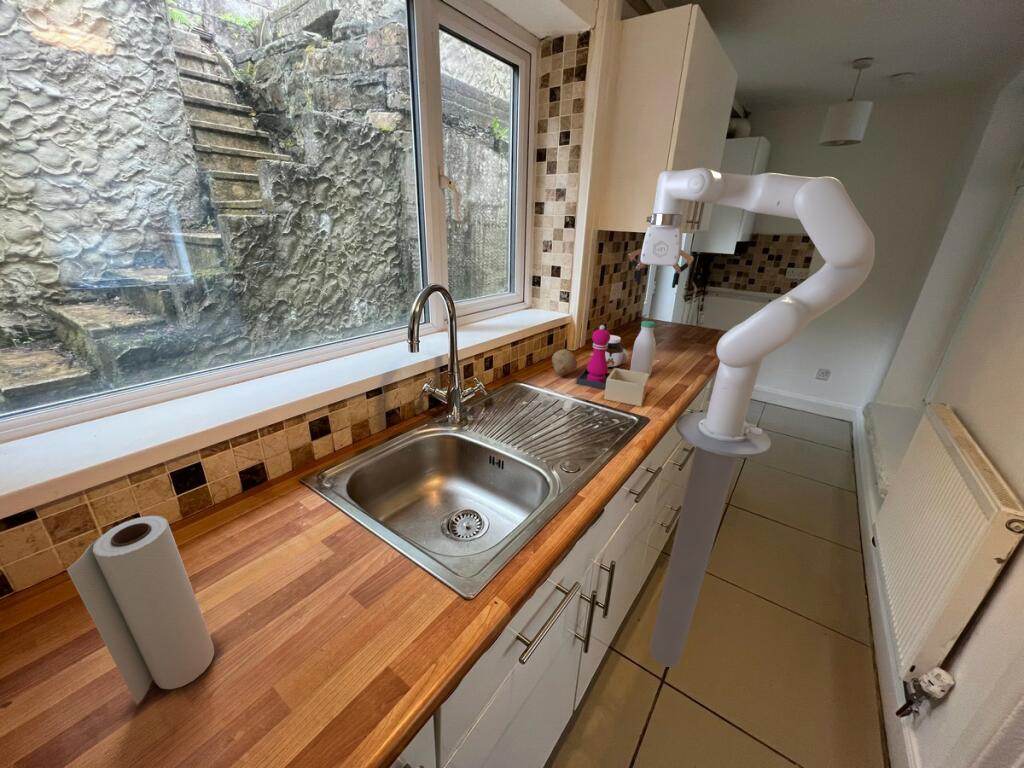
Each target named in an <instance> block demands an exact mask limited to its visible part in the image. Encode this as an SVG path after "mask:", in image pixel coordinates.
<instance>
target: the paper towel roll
mask: <svg viewBox="0 0 1024 768" xmlns="http://www.w3.org/2000/svg"><path fill="white" fill-rule="evenodd" d="M66 571H67V574H68V576H69V577H70V579H71V581H72V583H73V585H74V587H75V589H76V591H77V594H78V595H79V596H80V598H81V601H82V603H83V605H84V606H85V608H86V611H87V612H88V614H89V616H90V618H91V620H92V622H93V623H94V625H95V627H96V629H97V631H98V633H99V635H100V637H101V639H102V641H103V642H104V645H105V647H106V648H107V651H108V653H109V655H110V656H111V658H112V660H113V662H114V664H115V666H116V668H117V669H118V671H119V674H120V676H121V677H122V679H123V681H124V683H125V685H126V687H127V689H128V691H129V693H130V695H131V696H132V698H133V700H134V702H135V704H136V705H139V704H140V703H141V701H142V700H143V699H144V697H145V695H146V694H147V692H148V691H149V689H150V686H151V683H152V681H154V683H155V684H156V685H157V686H158V687H159V689H162V690H163V689H164V690H174V689H179V688H182V687H184V686H186V685H188V684H189V683H192V682H194V681H195V680H196V679H197V678H199V676H201V675H202V674H203V673H204V672H205V671H206V670H207V668H208V667H209V666H210V665H211V664H212V661H213V658H214V656H215V646H214V642H213V640H212V637H211V635H210V632H209V630H208V627H207V624H206V621H205V619H204V616H203V613H202V611H201V607H200V605H199V602H198V600H197V596H196V595H195V592H194V589H193V586H192V583H191V580H190V579H189V575H188V572H187V569H186V568H185V565H184V562H183V559H182V557H181V554H180V552H179V548H178V546H177V542H176V541H175V537H174V535H173V532H172V530H171V527H170V524H169V521H168V519H166V518H164V517H163V516H159V515H146V516H140V517H136V518H133V519H130V520H127V521H124V522H122V523H120V524H118V525H116V526H114V527H112V528H110V529H109V530H108V531H106V532H104V533H103V534H102V535H100V536H99V537H98V538H97V539H96V540H94V541H93V542H92V543H91V544H89V545H88V546H87V548H86V549H85V550H84V552H83V553H82V554H81V556H80V557H79V558H77V560H76V561H75V562H73V563H72V564H71V565H70V566H68V567H67V568H66Z"/></svg>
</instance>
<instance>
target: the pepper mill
mask: <svg viewBox="0 0 1024 768" xmlns="http://www.w3.org/2000/svg"><path fill="white" fill-rule="evenodd" d="M610 335H611V333H610V332H609V331H608V330H606V327H605V325H604V324H601V325H600V326H599V329H596V330H595V331H594V332H593V333H592V336H591V339H592V341H593V343H592V348H593V353H592V356H591V358H590V360H589V361H588V363H587V366H586V369H587V371H588V372H589V374H588V378H587V379H588V380H591V381H596V382H601V383H603V382H605V378H606V376H605V374H606V373H609V369H608V364H607V361H606V357H605V351H606V349H607V346H608V344H607V343H608V342H609V340H610Z"/></svg>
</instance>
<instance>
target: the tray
mask: <svg viewBox="0 0 1024 768" xmlns="http://www.w3.org/2000/svg"><path fill="white" fill-rule="evenodd" d="M610 373H611V372H607V373H606V374H605V376H606V378H605V382H603V383H601V382H596V381H591V380H588V379H587V378H588V374H589V372H588V371H587V368H585V369H584V370H583V371H582V372H581V373H580V375H578V376H577V378H576V384H577V385H581V386H585V387H586V386H587V387H593V388H597V389H603V390H605V388H606V380H607V378H608V376H609V375H610Z"/></svg>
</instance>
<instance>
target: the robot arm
mask: <svg viewBox="0 0 1024 768" xmlns="http://www.w3.org/2000/svg"><path fill="white" fill-rule="evenodd" d="M686 201H693V202H699V203H705V204H713V205H720V206H726V207H732V208H738V209H742V210H745V211H747V212H750V213H756V214H762V215H770V216H776V217H781V218H782V217H783V218H790V219H796V220H799V221H800V223H801V225H802V226H803V228H804V230H805V232H806V233H807V235H808V237H809V238H810V240H811V241H812V243H813V245H814V246H815V248H816V249H817V252H818V253H819V254H820V256H821V258H822V259H823V260H824V261H825V263H824V264H823V266H822V267H820V269H819V270H817V271H816V272H815V273H814V274H812V275H811V276H809V277H808V278H807V279H805V280H804V281H802V282H801V283H799V284H798V285H797V286H796V287H795V286H794V288H792V289H791V290H790V291H788V292H786V293H785V294H783V295H781V296H780V297H778V298H775V299H773V300H772V301H770V302H769V303H767V304H766V305H765V306H763V308H761V309H760V310H758V311H757V312H755V313H754V314H752V315H751V316H749V317H748V318H746V319H745V320H744V321H742V322H741V323H738V324H736V325H734V326H732V327H731V328H729V330H727V332H725V333H724V334H723V335H722V336H721V337H720V338H719V340H718V341H717V344H716V356H717V358H718V360H719V364H718V368H717V370H716V376H715V379H714V383H713V388H712V391H711V396H710V400H709V405H708V409H707V411H706V412H707V417H706V419H703V420H701V421H700V422H699V425H698V427H699V429H700V431H701V432H702V433H704V434H705V435H707V436H709V437H711V438H714V439H717V440H720V441H725V442H741V441H743V440H745V439H746V437H747V434H748V433H752V434H755V435H760V436H761V434H762V431H763V428H760V427H757V424H753V423H750V424H747V421H746V417H747V413H748V409H749V407H750V403H751V398H752V395H753V392H754V388H755V385H756V382H757V378H758V374H759V371H760V369H761V365H762V362H763V360H764V357H767V356H768V355H770V354H771V353H773V352H775V351H776V350H778V349H779V348H782V347H783V346H785V345H786V344H788V343H789V342H791V341H792V340H794V339H796V338H797V337H798V336H799V335H800V334H801V333H802V332H803V330H804V329H805V327H806V326H807V325H808V324H809V323H811V322H812V321H814V320H815V319H817V318H818V317H820V316H822V315H823V314H825V313H826V312H828V311H829V310H831V309H832V308H834V307H835V306H836V305H838V304H840V303H841V302H843V301H845V300H846V299H848V298H849V297H850V296H851V295H853V294H854V293H855V292H856V291H857V290H858V289H859V288H860V287H861V286H862V285H863V283H864V282H865V281H866V279H867V278H868V277H869V274H870V273H871V271H872V268H873V266H874V263H875V257H876V239H875V234H874V233H873V232H872V230H871V229H870V227H869V226H868V224H867V222H866V221H865V219H864V218H863V216H862V215H861V213H860V212H859V210H858V208H857V207H856V206H855V204H854V202H853V201H852V199H851V197H850V195H849V194H848V192H847V190H846V188H845V186H844V184H843V183H842V182H841V181H840V180H839V179H837V178H835V177H832V176H820V177H811V176H801V175H792V174H791V175H790V174H783V173H776V172H775V173H774V172H764V173H759V174H739V173H738V174H737V173H730V172H729V173H728V172H721V171H716V170H713V169H711V168H708V167H696V168H695V167H694V168H690V169H685V170H680V169H670V170H669V169H668V170H663V171H661V172H660V173H659V175H658V177H657V181H656V190H655V197H654V203H653V204H654V205H653V210H652V215H649V216H646V220H645V222H647V223H650V226H647V228H646V232H645V235H644V238H643V243H642V247H641V248H639V249H636V250H634V251H632V252H630V253H628V258H629V260H630V263H631V265H632V266H633V267H634V268H635V271H636V272H635V278H634V282H636V286H639V285H641V284H642V278H643V270H644V269H643V267H644V266H646V265H647V266H661V267H672V268H673V269H674V271H675V272H674V273H673V278H672V283H671V288H672V289H675V288H676V286H678V285H679V282H680V278H681V277H680V276H681V273H683V272H684V271H685V270H686V269H688V267H690V265H691V264H692V262H693V261H694V259H695V257H694V256H692V255H691V254H689V253H687V252H686V251H685V250H682V246H683V232H684V230H683V229H684V228H683V227H681V223H682V218H683V213H684V205H685V202H686ZM638 255H640V262H638V261H637V259H636V256H638ZM681 257H682V258H684V259H685V260H686V261H685V263H684V264H682V265H681V266H680V264H679V263H680V260H681ZM756 427H757V428H756Z"/></svg>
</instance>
